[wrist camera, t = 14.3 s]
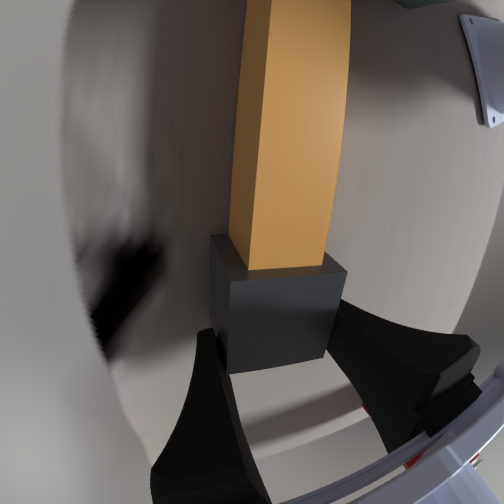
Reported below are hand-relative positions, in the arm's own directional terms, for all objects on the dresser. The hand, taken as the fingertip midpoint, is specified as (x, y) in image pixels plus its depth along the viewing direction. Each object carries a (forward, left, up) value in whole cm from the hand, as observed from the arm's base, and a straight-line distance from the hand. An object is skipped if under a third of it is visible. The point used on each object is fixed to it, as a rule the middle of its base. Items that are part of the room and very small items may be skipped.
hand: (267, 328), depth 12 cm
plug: (-4, -7, -2) cm, 8 cm away
